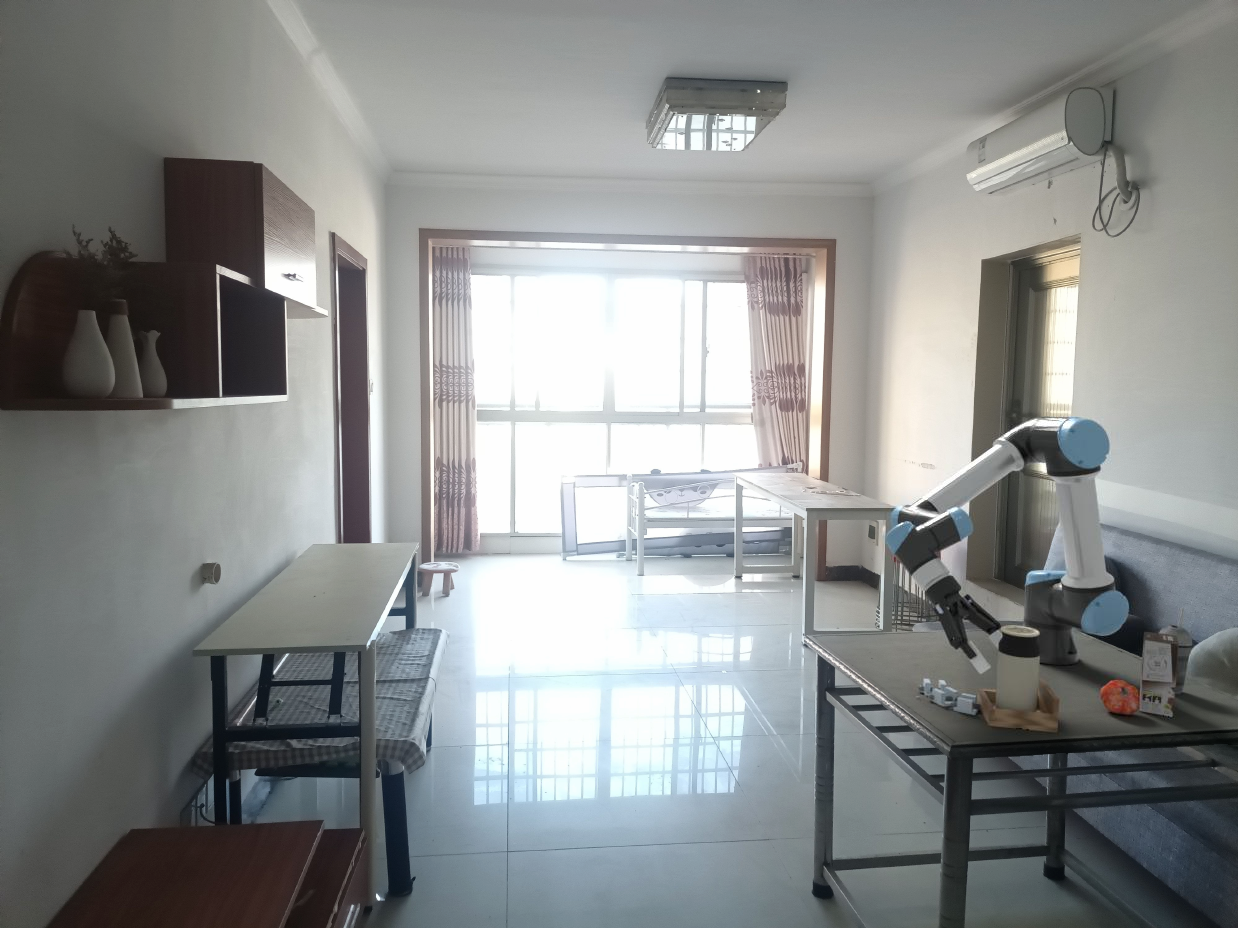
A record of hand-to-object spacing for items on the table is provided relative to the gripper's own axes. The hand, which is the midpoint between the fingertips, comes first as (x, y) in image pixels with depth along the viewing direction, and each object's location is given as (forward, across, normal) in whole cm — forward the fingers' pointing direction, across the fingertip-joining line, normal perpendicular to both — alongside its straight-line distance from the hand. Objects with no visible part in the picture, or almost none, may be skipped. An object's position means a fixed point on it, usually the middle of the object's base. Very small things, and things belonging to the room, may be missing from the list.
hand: (999, 664), depth 182 cm
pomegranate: (+20, -21, +5) cm, 29 cm away
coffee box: (+23, -30, +8) cm, 39 cm away
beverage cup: (+22, -46, +7) cm, 52 cm away
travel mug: (+10, 0, -4) cm, 10 cm away
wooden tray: (+10, 0, -5) cm, 11 cm away
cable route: (0, +2, -15) cm, 15 cm away
